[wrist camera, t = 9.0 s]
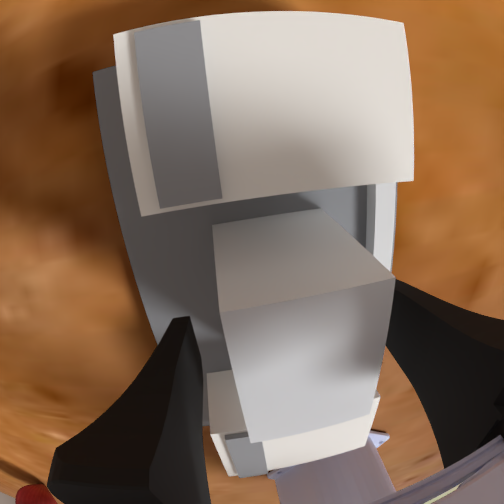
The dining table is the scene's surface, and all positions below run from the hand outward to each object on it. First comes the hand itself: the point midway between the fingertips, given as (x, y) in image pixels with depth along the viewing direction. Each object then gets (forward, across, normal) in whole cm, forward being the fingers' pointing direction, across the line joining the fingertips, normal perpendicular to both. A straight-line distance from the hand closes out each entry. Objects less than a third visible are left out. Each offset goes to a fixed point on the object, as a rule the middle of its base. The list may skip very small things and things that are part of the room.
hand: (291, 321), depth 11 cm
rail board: (+4, 0, 0) cm, 4 cm away
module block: (+3, 0, 0) cm, 3 cm away
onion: (+4, +30, +26) cm, 40 cm away
